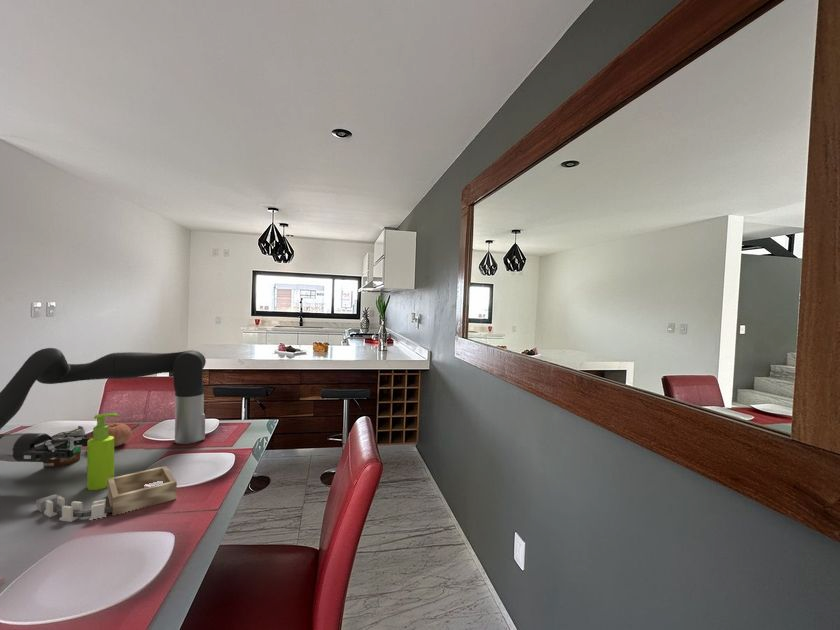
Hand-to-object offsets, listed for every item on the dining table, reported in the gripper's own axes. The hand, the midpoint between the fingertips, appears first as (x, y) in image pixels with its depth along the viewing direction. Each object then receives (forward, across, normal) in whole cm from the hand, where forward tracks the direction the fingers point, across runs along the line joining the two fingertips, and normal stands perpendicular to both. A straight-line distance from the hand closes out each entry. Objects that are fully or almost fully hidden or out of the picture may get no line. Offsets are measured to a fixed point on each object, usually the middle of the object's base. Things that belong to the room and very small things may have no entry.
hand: (84, 447), depth 111 cm
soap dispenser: (+5, 0, -11) cm, 12 cm away
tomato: (-14, -30, -11) cm, 35 cm away
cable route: (+8, +14, -11) cm, 19 cm away
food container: (-17, -15, -11) cm, 25 cm away
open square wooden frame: (+20, +7, -11) cm, 23 cm away
